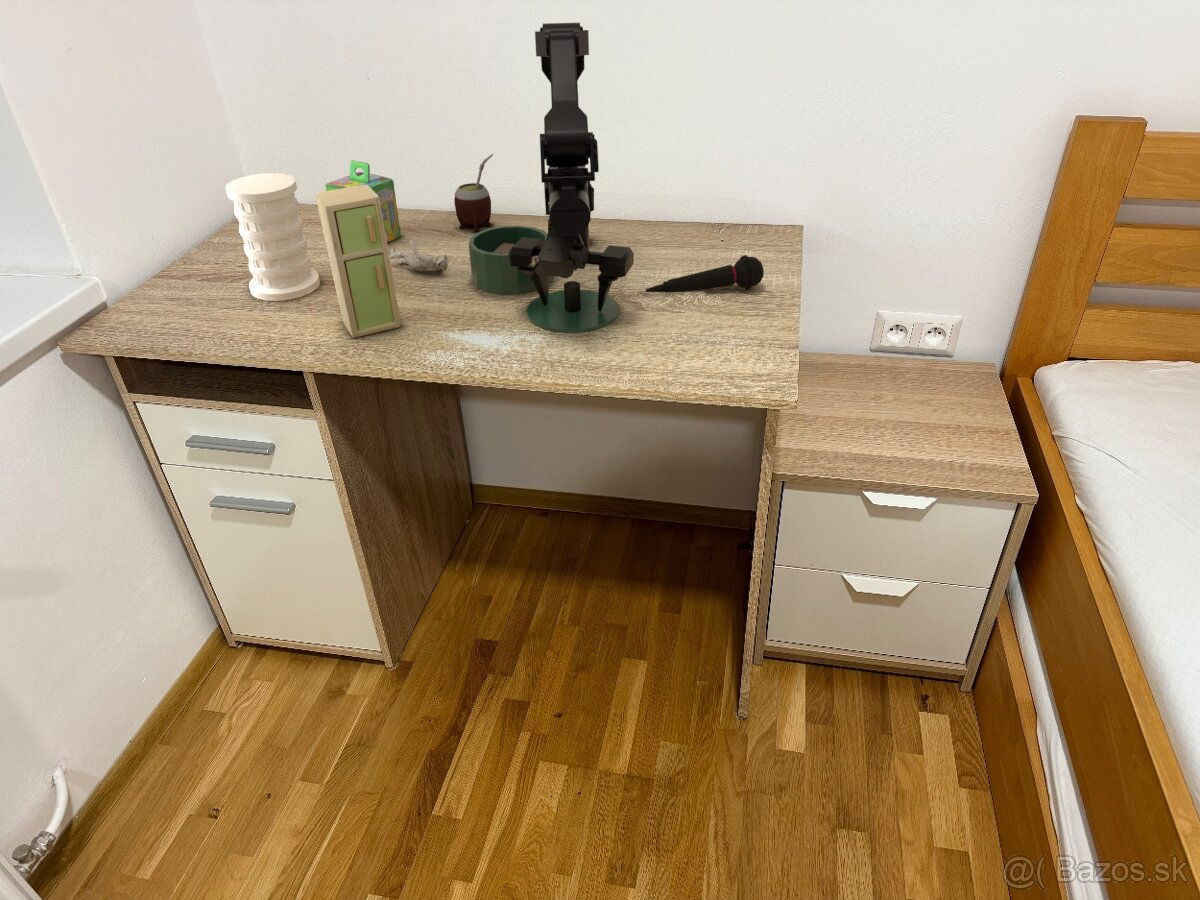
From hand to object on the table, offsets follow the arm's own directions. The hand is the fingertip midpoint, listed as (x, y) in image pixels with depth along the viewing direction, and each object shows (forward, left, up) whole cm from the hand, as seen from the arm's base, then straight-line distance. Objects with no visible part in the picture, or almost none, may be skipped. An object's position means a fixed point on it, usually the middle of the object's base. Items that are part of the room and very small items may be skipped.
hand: (572, 307), depth 138 cm
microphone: (-24, +1, -2) cm, 24 cm away
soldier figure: (+17, -29, -2) cm, 34 cm away
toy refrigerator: (+30, -11, -2) cm, 32 cm away
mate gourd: (+1, -45, -2) cm, 45 cm away
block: (+4, -17, -1) cm, 17 cm away
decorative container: (+40, -33, -2) cm, 52 cm away
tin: (+4, -17, -1) cm, 17 cm away
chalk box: (+22, -48, -2) cm, 53 cm away
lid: (0, 0, -1) cm, 1 cm away
